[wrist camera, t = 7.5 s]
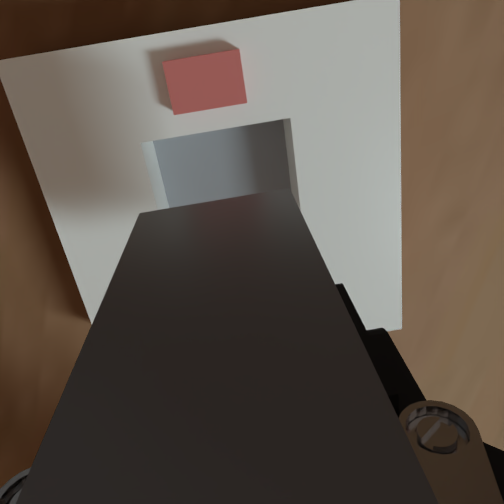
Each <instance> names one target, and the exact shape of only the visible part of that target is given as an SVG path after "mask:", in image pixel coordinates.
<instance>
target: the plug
mask: <svg viewBox="0 0 504 504" xmlns="http://www.w3.org/2000/svg"><path fill="white" fill-rule="evenodd" d="M16 504H439V503H438V501H437V499H436V497H435V494H434V492H433V490H432V488H431V486H430V484H429V482H428V480H427V478H426V475H425V473H424V471H423V469H422V467H421V465H420V463H419V461H418V459H417V456H416V454H415V452H414V450H413V448H412V446H411V444H410V442H409V439H408V437H407V435H406V433H405V431H404V429H403V427H402V425H401V423H400V420H399V418H398V416H397V414H396V412H395V410H394V408H393V406H392V404H391V401H390V399H389V397H388V395H387V393H386V391H385V389H384V387H383V384H382V382H381V380H380V378H379V376H378V374H377V372H376V370H375V368H374V365H373V363H372V361H371V359H370V357H369V355H368V353H367V351H366V349H365V346H364V344H363V342H362V340H361V338H360V336H359V334H358V332H357V330H356V327H355V325H354V323H353V321H352V319H351V317H350V315H349V313H348V310H347V308H346V306H345V304H344V302H343V300H342V298H341V296H340V294H339V291H338V289H337V287H336V285H335V283H334V281H333V279H332V277H331V275H330V272H329V270H328V268H327V266H326V264H325V262H324V260H323V258H322V256H321V253H320V251H319V249H318V247H317V245H316V243H315V241H314V239H313V236H312V234H311V232H310V230H309V228H308V226H307V224H306V222H305V220H304V217H303V215H302V213H301V211H300V209H299V207H298V205H297V203H296V201H295V198H294V196H293V194H292V192H291V190H290V188H286V189H280V190H274V191H268V192H262V193H256V194H250V195H244V196H238V197H232V198H226V199H220V200H214V201H208V202H202V203H196V204H190V205H185V206H179V207H173V208H167V209H161V210H155V211H149V212H143V213H139V215H138V218H137V220H136V222H135V225H134V227H133V229H132V232H131V234H130V237H129V239H128V241H127V244H126V246H125V248H124V251H123V253H122V255H121V258H120V260H119V262H118V265H117V267H116V269H115V272H114V274H113V276H112V279H111V281H110V283H109V286H108V288H107V290H106V293H105V295H104V298H103V300H102V302H101V305H100V307H99V309H98V312H97V314H96V316H95V319H94V321H93V323H92V326H91V328H90V330H89V333H88V335H87V337H86V340H85V342H84V344H83V347H82V349H81V351H80V354H79V356H78V359H77V361H76V363H75V366H74V368H73V370H72V373H71V375H70V377H69V380H68V382H67V384H66V387H65V389H64V391H63V394H62V396H61V398H60V401H59V403H58V405H57V408H56V410H55V412H54V415H53V417H52V420H51V422H50V424H49V427H48V429H47V431H46V434H45V436H44V438H43V441H42V443H41V445H40V448H39V450H38V452H37V455H36V457H35V459H34V462H33V464H32V466H31V469H30V471H29V473H28V476H27V478H26V481H25V483H24V485H23V488H22V490H21V492H20V495H19V497H18V499H17V502H16Z"/></svg>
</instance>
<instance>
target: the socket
mask: <svg viewBox="0 0 504 504" xmlns="http://www.w3.org/2000/svg"><path fill="white" fill-rule="evenodd" d="M0 79H1V82H2V84H3V87H4V90H5V92H6V95H7V98H8V100H9V103H10V106H11V108H12V111H13V114H14V117H15V119H16V122H17V125H18V127H19V130H20V133H21V135H22V138H23V141H24V144H25V146H26V149H27V152H28V154H29V157H30V160H31V162H32V165H33V168H34V170H35V173H36V176H37V179H38V181H39V184H40V187H41V189H42V192H43V195H44V197H45V200H46V203H47V205H48V208H49V211H50V214H51V216H52V219H53V222H54V224H55V227H56V230H57V232H58V235H59V238H60V240H61V243H62V246H63V249H64V251H65V254H66V257H67V259H68V262H69V265H70V267H71V270H72V273H73V275H74V278H75V281H76V284H77V286H78V289H79V292H80V294H81V297H82V300H83V302H84V305H85V308H86V310H87V313H88V316H89V319H90V321H91V324H92V323H93V321H94V319H95V316H96V314H97V312H98V309H99V307H100V305H101V302H102V300H103V298H104V295H105V293H106V290H107V288H108V286H109V283H110V281H111V279H112V276H113V274H114V272H115V269H116V267H117V265H118V262H119V260H120V258H121V255H122V253H123V251H124V248H125V246H126V244H127V241H128V239H129V237H130V234H131V232H132V229H133V227H134V225H135V222H136V220H137V218H138V215H139V213H143V212H149V211H155V210H161V209H167V208H173V207H179V206H185V205H190V204H196V203H202V202H208V201H214V200H220V199H226V198H232V197H238V196H244V195H250V194H256V193H262V192H268V191H274V190H280V189H286V188H290V190H291V192H292V194H293V196H294V198H295V201H296V203H297V205H298V207H299V209H300V211H301V213H302V215H303V217H304V220H305V222H306V224H307V226H308V228H309V230H310V232H311V234H312V236H313V239H314V241H315V243H316V245H317V247H318V249H319V251H320V253H321V256H322V258H323V260H324V262H325V264H326V266H327V268H328V270H329V272H330V275H331V277H332V279H333V281H334V283H335V284H340V283H343V285H344V287H345V289H346V291H347V293H348V295H349V297H350V299H351V301H352V303H353V305H354V306H355V308H356V310H357V312H358V314H359V316H360V318H361V320H362V322H363V324H364V326H365V328H366V330H371V329H377V328H384V329H385V330H386V331H392V330H398V329H402V262H401V113H400V0H353V1H347V2H341V3H336V4H330V5H324V6H318V7H312V8H306V9H300V10H294V11H288V12H282V13H276V14H270V15H264V16H258V17H253V18H247V19H241V20H235V21H229V22H223V23H217V24H211V25H205V26H199V27H193V28H187V29H181V30H176V31H170V32H164V33H158V34H152V35H146V36H140V37H134V38H128V39H122V40H116V41H110V42H104V43H98V44H93V45H87V46H81V47H75V48H69V49H63V50H57V51H51V52H45V53H39V54H33V55H27V56H21V57H16V58H10V59H4V60H0Z"/></svg>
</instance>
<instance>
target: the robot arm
mask: <svg viewBox="0 0 504 504" xmlns="http://www.w3.org/2000/svg"><path fill="white" fill-rule="evenodd" d="M335 285H336V287H337V289H338V291H339V294H340V296H341V298H342V300H343V302H344V304H345V306H346V308H347V310H348V313H349V315H350V317H351V319H352V321H353V323H354V325H355V327H356V330H357V332H358V334H359V336H360V338H361V340H362V342H363V344H364V346H365V349H366V351H367V353H368V355H369V357H370V359H371V361H372V363H373V365H374V368H375V370H376V372H377V374H378V376H379V378H380V380H381V382H382V384H383V387H384V389H385V391H386V393H387V395H388V397H389V399H390V401H391V404H392V406H393V408H394V410H395V412H396V414H397V416H398V418H399V420H400V423H401V425H402V427H403V429H404V431H405V433H406V435H407V437H408V439H409V442H410V444H411V446H412V448H413V450H414V452H415V454H416V456H417V459H418V461H419V463H420V465H421V467H422V469H423V471H424V473H425V475H426V478H427V480H428V482H429V484H430V486H431V488H432V490H433V492H434V494H435V497H436V499H437V501H438V503H439V504H504V451H502V450H500V449H498V448H495V447H493V446H491V445H488V444H486V443H484V442H482V439H481V436H480V433H479V430H478V428H477V426H476V425H475V423H474V421H473V420H472V419H471V418H470V417H469V416H468V415H467V414H466V413H465V412H464V411H462V410H460V409H459V408H457V407H455V406H454V405H451V404H448V403H445V402H441V401H432V400H428V401H426V399H425V397H424V395H423V394H422V392H421V390H420V388H419V387H418V385H417V383H416V381H415V380H414V378H413V376H412V374H411V373H410V371H409V369H408V367H407V366H406V364H405V362H404V360H403V359H402V357H401V355H400V353H399V352H398V350H397V348H396V346H395V345H394V343H393V341H392V339H391V338H390V336H389V334H388V332H387V331H386V330H385V329H384V328H377V329H371V330H366V328H365V326H364V324H363V322H362V320H361V318H360V316H359V314H358V312H357V310H356V308H355V306H354V305H353V303H352V301H351V299H350V297H349V295H348V293H347V291H346V289H345V287H344V285H343V283H340V284H335ZM30 469H31V468H29V469H26V470H24V471H22V472H20V473H19V474H17V475H16V476H14V477H13V478H11V479H10V480H9V481H8V482H7V483H6V484H5V485H4V486H3V487H2V488H1V489H0V504H16V502H17V499H18V497H19V495H20V492H21V490H22V488H23V485H24V483H25V481H26V478H27V476H28V473H29V471H30Z"/></svg>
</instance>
